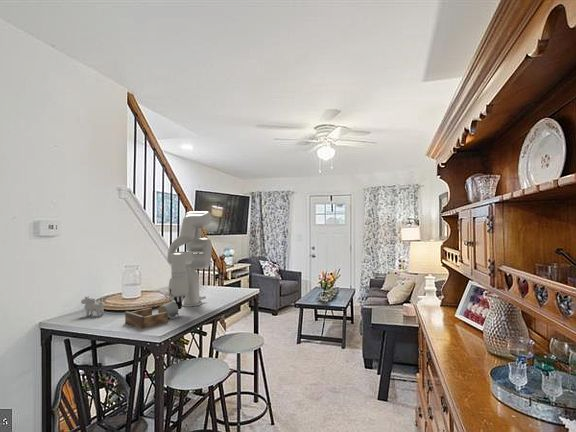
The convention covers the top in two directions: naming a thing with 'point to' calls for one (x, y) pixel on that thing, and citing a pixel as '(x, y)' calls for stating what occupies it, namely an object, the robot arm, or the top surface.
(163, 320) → the open wooden box
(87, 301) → the grey animal figurine
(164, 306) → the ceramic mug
